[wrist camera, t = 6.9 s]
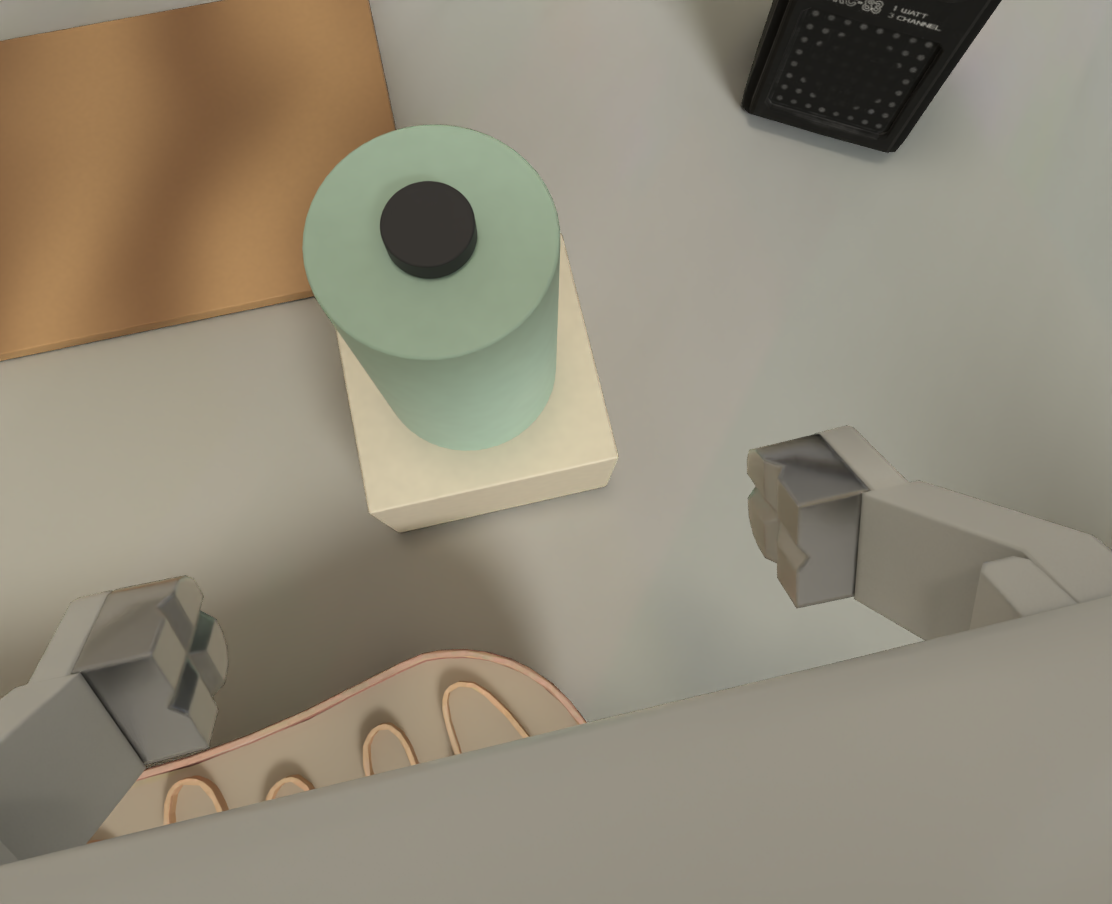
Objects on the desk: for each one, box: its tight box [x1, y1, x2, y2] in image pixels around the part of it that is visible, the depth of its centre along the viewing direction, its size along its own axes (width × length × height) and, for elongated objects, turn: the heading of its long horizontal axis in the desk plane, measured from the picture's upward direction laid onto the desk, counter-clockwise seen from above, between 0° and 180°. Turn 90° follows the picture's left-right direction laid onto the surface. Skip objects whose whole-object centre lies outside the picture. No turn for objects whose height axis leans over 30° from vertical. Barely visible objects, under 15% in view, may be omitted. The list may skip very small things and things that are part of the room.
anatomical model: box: [87, 649, 586, 844], centre depth 24 cm, size 23×10×5 cm, turn 108°
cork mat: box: [0, 0, 396, 361], centre depth 32 cm, size 18×14×1 cm
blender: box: [302, 125, 618, 533], centre depth 23 cm, size 8×8×14 cm
